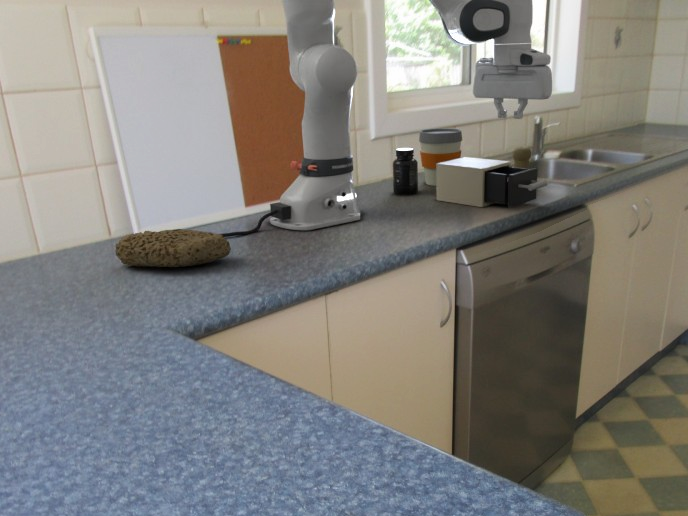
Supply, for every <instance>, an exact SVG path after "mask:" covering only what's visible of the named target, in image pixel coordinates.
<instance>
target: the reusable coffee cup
mask: <svg viewBox="0 0 688 516" xmlns="http://www.w3.org/2000/svg"><path fill="white" fill-rule="evenodd" d="M418 142H419V143H420V151H419V155H420V162H421V167H422V168H423V172H424V180H425V181H424V182H425V184H426V185H429V186H435V187H437V185H436V163H441V162H445V161H450V160H454V159H458V158H462V157H461V156H462V149H461V145H462V142H463V134H462V130H461V129H460V128H459V129H458V128H448V127H447V128H444V127H443V128H428V129H422V130H420V131H419V137H418Z"/></svg>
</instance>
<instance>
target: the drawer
mask: <svg viewBox="0 0 688 516" xmlns="http://www.w3.org/2000/svg"><path fill="white" fill-rule="evenodd" d="M538 171H539V169H538V167H532V168H530V169H528V170H527V169H526V168H517V167H513V166H511V167H507V166H503V167H500V168H496V169H492V170H488V171H484V172H485V177H484V201H485V202H492V203H494V204H498V205H507V208H515V207H518V206H520V205H524V204H526V203H529V202H532V201H535V200H537V193H538V189H541V188H545V187H547V186H548V183H549V182H548V181H547V180H546V179H543V180H538ZM507 177H509V182H508V199H507Z"/></svg>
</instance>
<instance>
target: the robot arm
mask: <svg viewBox="0 0 688 516" xmlns="http://www.w3.org/2000/svg"><path fill="white" fill-rule="evenodd" d="M428 1H429V2H430V4H431V5H432V6H433V7H434V9H435V10H436V12H437V13H438V15H439V17H440V19H441V23H442V26H443V31H444V32H445V35H446V37H447V38H448V39H449V40H450V41H451V42H452V43H453V44H455V45H457V46H462V47H467V46H471V45H475V44H482V43H485V42H488V41H489V40H491V41H492V57H480V58H479V59H478V60H477V61H476V63H475V64H474V76H473V84H472V94H473V96H474V98H476V99H493V104H494V106H495V108H496V111H497V118H498V119H506V118H507V117H508V109H505V108H504V105H503V103H504V99H505V100H507V99H508V100H511V99H512V100H517V104H518V105H519V106H518V108H517V110H514V111H513V119H514V120H521V119H522V120H523V118H524V110H525V109H526V108H527V106H528V103H529V100H535V101H536V100H537V101H538V100H539V101H541V100H542V101H543V100H549V98H550V97H551V95H552V93H553V72H552V70H551V68H550V66H548V65H550V64H551V59H552V57H551V55H550V54H548V53H544V52H542V51H540V50H537V49H534V48H532V42H533V41H532V36H531V30H532V26H533V15H534V14H533V13H534V11H533V9H534V8H533V5H534V4H533V0H428ZM281 3H282V8H283V12H284V17H285V23H286V25H285V26H286V35H287V36H286V37H287V49H288V57H289V74H290V78H291V79H292V81H293V82H294V84H295V85H296V86H297V87H298V88H299V90H301V91H303V93H304V94H305V95H304V108H303V116H302V119H301V133H302V136H301V137H302V144H303V145H302V146H303V147H302V148H303V157H302V159H301V161H296V160H292V161H291V162H290V164H289V166H290V169H291V170H292V171H293V170H294V171H299V175H298V176H297V178H296V179H294V181H293V182H292V183H291V184H290V185H289V187H288V188H287V189H285V191H284V192H283V193H282V194H281V196H280V198H279V202H272V203H269V207H270V209H269V210H270V212H267V213H266V214H264V215H263V216H261V218H260V219H259V220H258V222H257V224H256V226H255V227H254V228H252V229H251V230H243V231H242V230H241V231H232V232H226V233H225V232H223V233H220V234H221V235H222V236H224V238H228V237H237V236H246V235H251V234H254V233H257V232H258V231H259V230H260V228H261V227H262V224H263V222H264V221H265V220H266V219H268V218H269V217H270V218H269V223H270V224H271V225H272V226H275V227H277V228H281V229H286V230H293V231H312V230H316V229H317V230H318V229H322V228H326V227H332V226H336V225H342V224H346V223H351V222H355V221H360V220H361V213H362V212H361V210H360V207H359V203H358V199H357V192H356V187H355V183H354V177H353V171H354V170H355V169H354V158H353V157H354V156H353V155H352V151H351V133H350V131H351V130H350V119H351V118H350V117H351V109H352V100H353V91H354V85H355V83H356V81H357V77H358V66H357V62H356V60H355V58H354V57H353V55H352V54H351V53H350V52H349V51H348V50H346V49H345V48H343V47H342V46H340V45H338V44H335V17H336V6H335V0H281Z"/></svg>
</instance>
